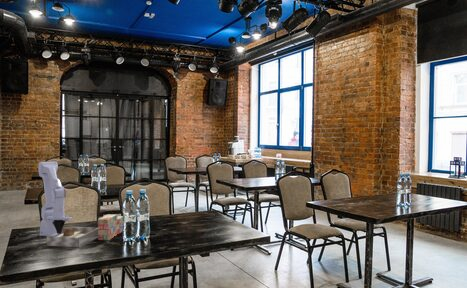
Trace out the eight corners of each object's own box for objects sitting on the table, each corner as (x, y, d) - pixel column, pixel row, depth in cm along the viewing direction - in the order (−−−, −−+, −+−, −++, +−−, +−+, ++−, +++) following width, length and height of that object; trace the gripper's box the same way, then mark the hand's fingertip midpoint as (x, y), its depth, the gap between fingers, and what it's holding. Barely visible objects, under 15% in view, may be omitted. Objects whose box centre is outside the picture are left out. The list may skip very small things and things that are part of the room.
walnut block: (63, 236, 207) (63, 229, 207) (67, 234, 211) (67, 227, 211) (69, 236, 207) (69, 229, 206) (74, 234, 210) (74, 227, 210)
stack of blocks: (114, 230, 231) (114, 211, 231) (123, 230, 230) (123, 211, 230) (97, 240, 210) (97, 218, 210) (108, 240, 209) (108, 218, 209)
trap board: (46, 245, 199) (46, 236, 199) (70, 235, 220) (70, 226, 220) (78, 247, 196) (78, 237, 196) (99, 236, 217) (99, 228, 217)
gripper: (42, 210, 207) (43, 234, 207) (66, 211, 204) (66, 235, 205) (50, 208, 214) (51, 231, 214) (73, 208, 211) (74, 232, 212)
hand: (59, 233), depth 210 cm, fingers closed
